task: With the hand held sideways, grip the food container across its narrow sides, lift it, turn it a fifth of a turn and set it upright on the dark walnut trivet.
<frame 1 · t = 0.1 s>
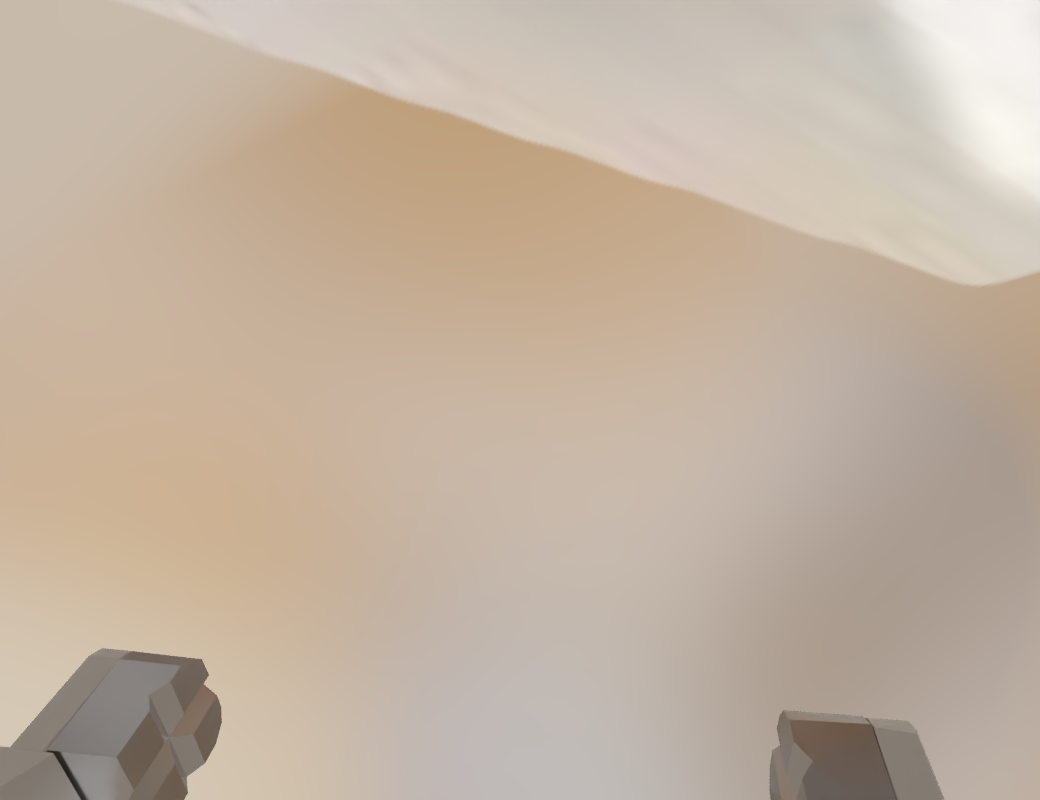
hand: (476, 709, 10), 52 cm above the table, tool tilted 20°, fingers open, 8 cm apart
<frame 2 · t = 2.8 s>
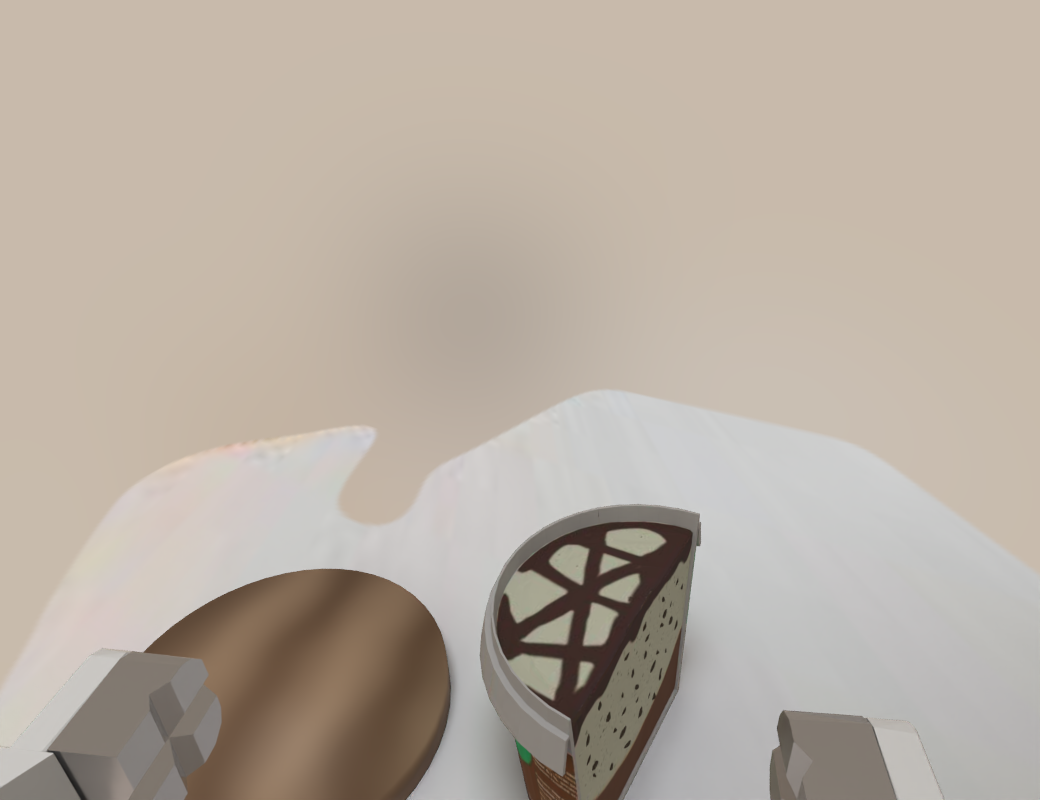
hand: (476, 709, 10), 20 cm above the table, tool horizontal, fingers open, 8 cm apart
food container: (575, 740, 31), on the table
walnut trivet: (285, 709, 33), on the table
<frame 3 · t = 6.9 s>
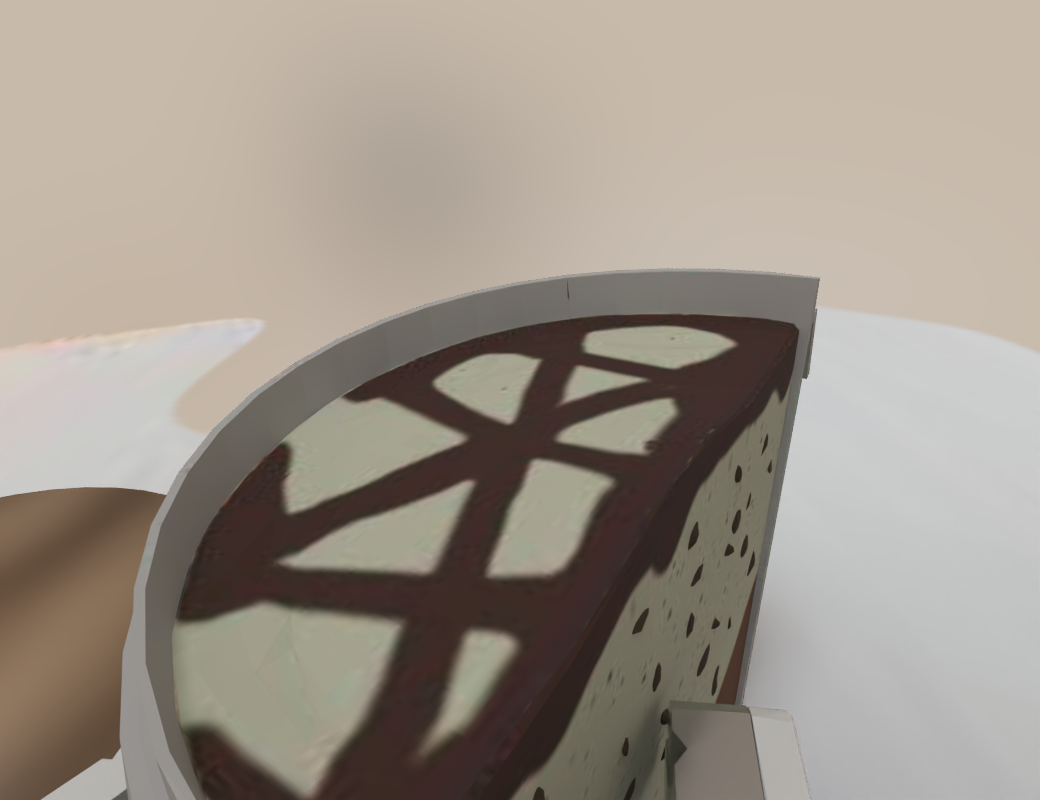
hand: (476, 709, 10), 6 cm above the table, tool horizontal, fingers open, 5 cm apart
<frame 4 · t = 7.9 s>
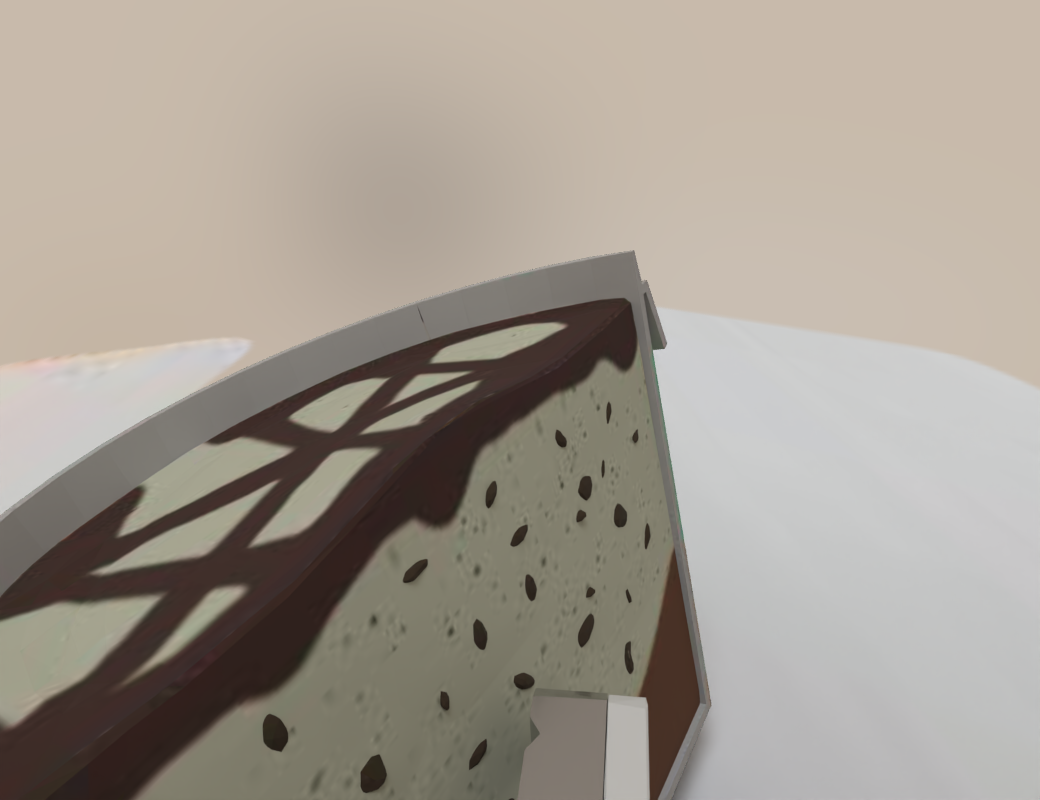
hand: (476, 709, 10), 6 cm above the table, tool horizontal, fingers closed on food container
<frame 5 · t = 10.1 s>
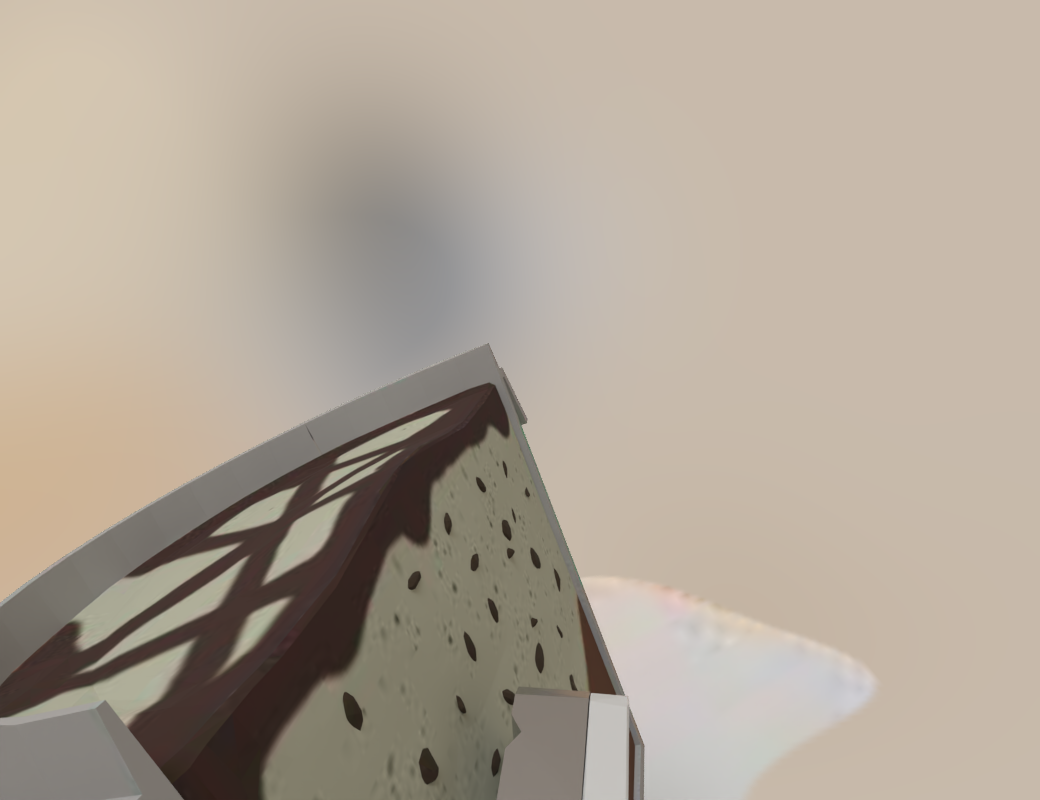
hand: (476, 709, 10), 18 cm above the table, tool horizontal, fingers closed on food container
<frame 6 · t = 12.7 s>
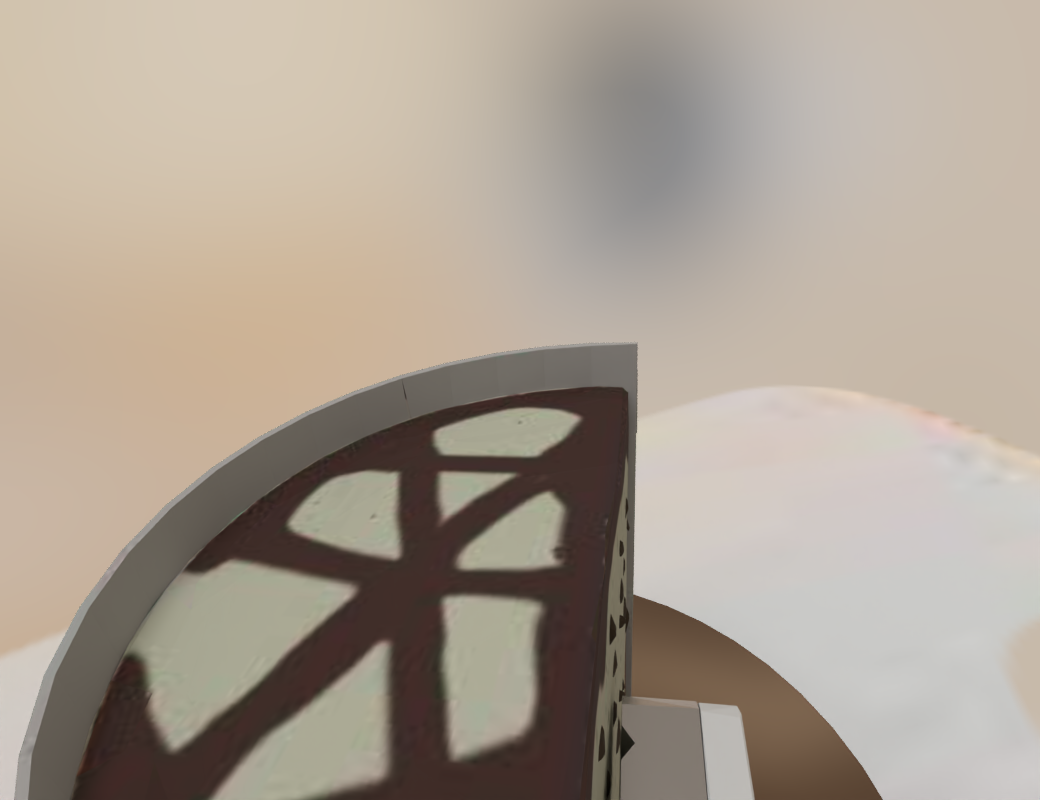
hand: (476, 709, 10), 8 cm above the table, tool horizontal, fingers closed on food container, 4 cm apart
when the fingers open (8 cm above the table, at t = 12.7 s): food container moves 2 cm, resting on walnut trivet.
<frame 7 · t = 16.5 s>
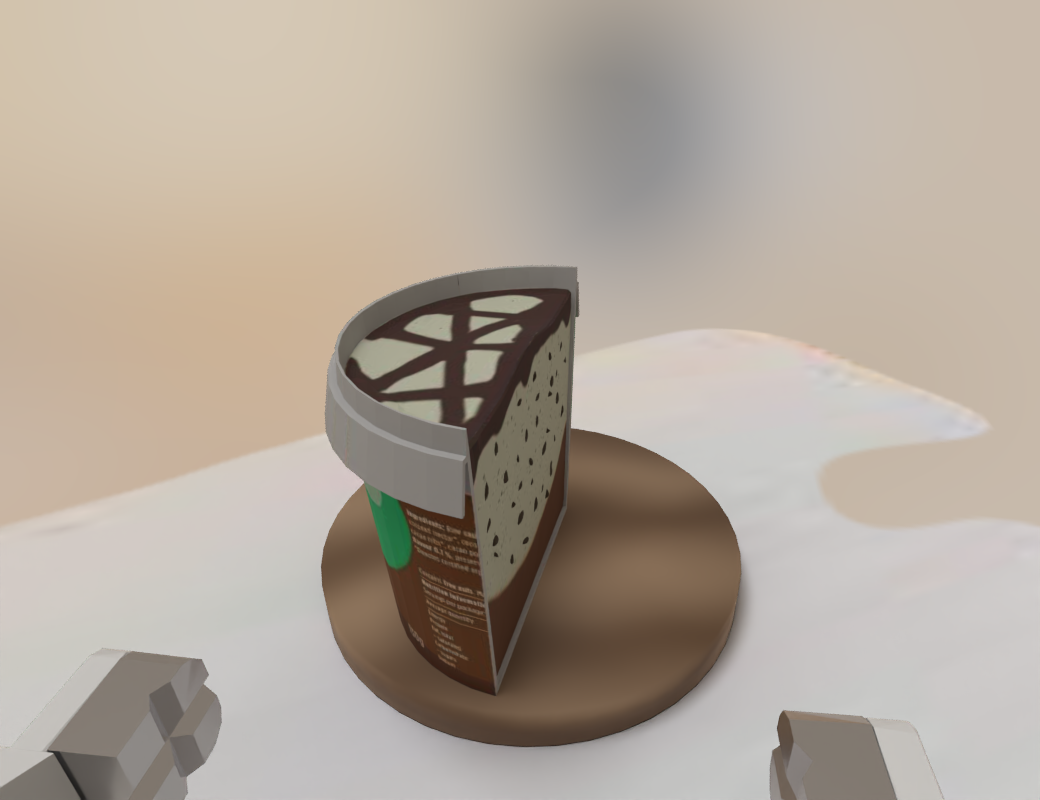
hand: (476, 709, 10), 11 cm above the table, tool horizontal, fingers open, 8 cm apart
food container: (457, 575, 25), point 1 cm above the table, touching walnut trivet
walnut trivet: (530, 563, 28), on the table
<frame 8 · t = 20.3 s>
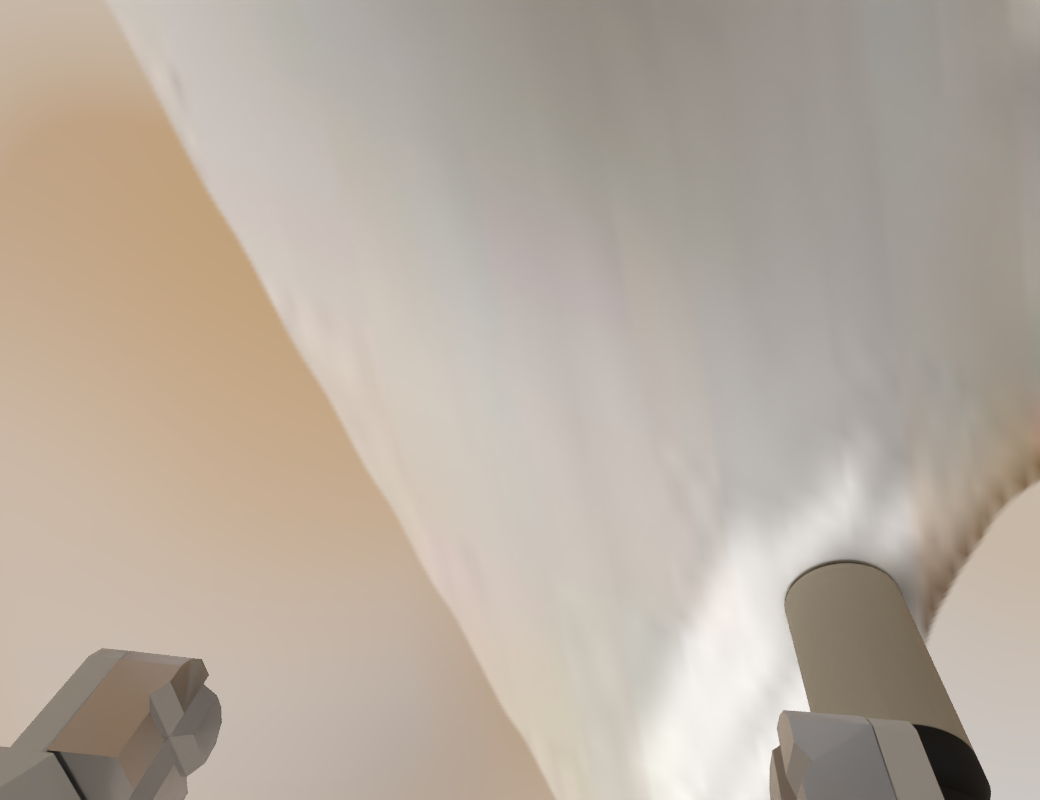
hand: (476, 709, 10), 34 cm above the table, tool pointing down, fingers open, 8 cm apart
travel mug: (840, 599, 51), on the table
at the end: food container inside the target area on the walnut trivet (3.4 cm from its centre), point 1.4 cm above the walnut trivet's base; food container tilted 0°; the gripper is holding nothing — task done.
